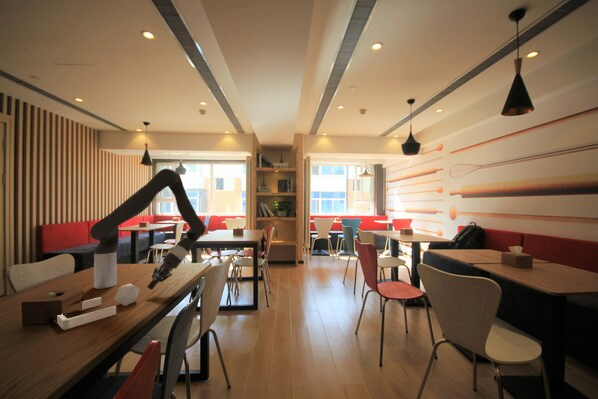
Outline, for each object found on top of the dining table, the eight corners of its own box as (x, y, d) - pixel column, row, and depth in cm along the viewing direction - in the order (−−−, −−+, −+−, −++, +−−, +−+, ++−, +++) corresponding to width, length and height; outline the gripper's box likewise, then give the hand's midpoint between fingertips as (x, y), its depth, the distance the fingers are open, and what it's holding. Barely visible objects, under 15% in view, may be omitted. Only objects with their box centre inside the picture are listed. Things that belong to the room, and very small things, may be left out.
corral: (51, 317, 96) (51, 309, 96) (100, 304, 108) (100, 297, 108) (63, 330, 86) (63, 321, 86) (116, 314, 98) (116, 306, 98)
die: (141, 305, 108) (145, 282, 114) (123, 301, 101) (128, 277, 107) (126, 310, 110) (131, 288, 115) (107, 307, 103) (113, 283, 109)
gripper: (163, 250, 127) (136, 281, 117) (177, 253, 120) (149, 286, 109) (174, 259, 132) (148, 290, 121) (188, 262, 124) (162, 295, 114)
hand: (149, 288), depth 116 cm, fingers closed
